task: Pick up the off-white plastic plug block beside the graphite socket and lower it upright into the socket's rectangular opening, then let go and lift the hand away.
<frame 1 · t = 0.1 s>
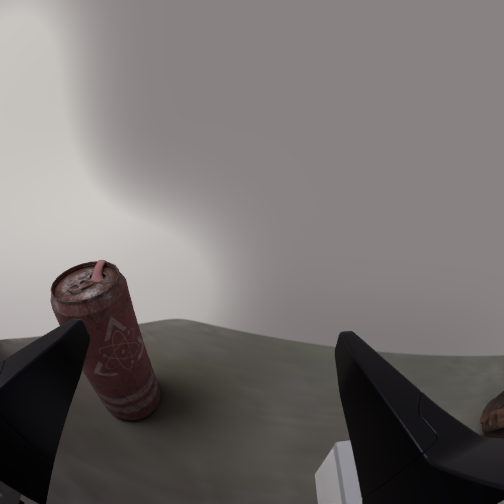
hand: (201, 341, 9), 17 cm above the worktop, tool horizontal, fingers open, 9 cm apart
plug: (345, 498, 14), on the worktop
can: (133, 398, 23), on the worktop
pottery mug: (500, 435, 14), on the worktop
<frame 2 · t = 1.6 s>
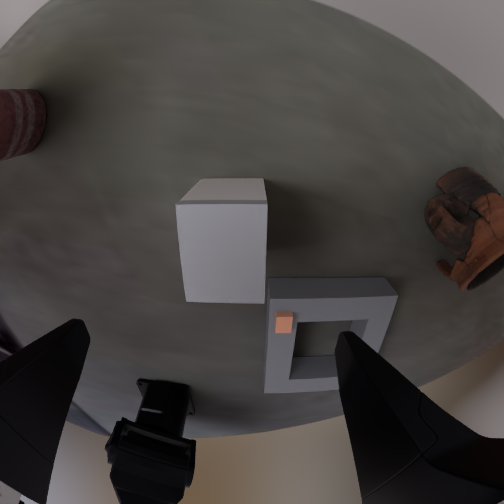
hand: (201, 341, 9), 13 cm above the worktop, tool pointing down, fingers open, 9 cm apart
socket block: (320, 330, 25), on the worktop
plug: (232, 215, 20), on the worktop
can: (28, 119, 16), on the worktop
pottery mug: (448, 216, 20), on the worktop
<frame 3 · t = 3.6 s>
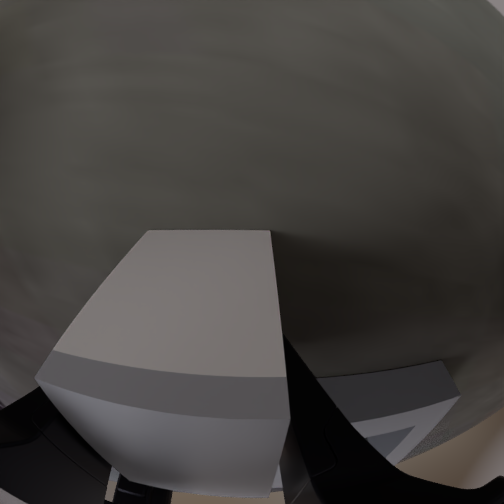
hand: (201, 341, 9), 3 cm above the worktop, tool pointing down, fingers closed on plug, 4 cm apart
socket block: (344, 423, 16), on the worktop
plug: (211, 296, 11), on the worktop, touching gripper
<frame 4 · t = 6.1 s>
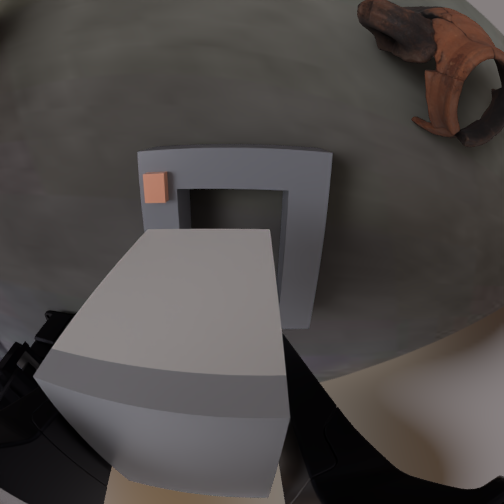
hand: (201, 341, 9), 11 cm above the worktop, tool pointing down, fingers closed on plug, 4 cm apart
socket block: (235, 231, 19), on the worktop
plug: (211, 295, 11), point 8 cm above the worktop, touching gripper
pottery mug: (413, 63, 13), on the worktop
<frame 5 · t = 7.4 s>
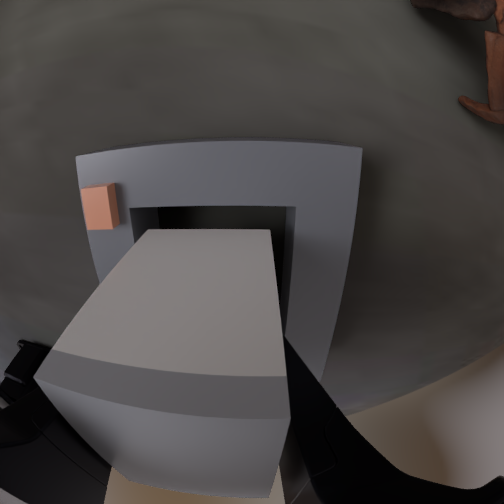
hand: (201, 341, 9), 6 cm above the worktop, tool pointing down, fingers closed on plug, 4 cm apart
socket block: (221, 259, 14), on the worktop
plug: (211, 296, 11), point 3 cm above the worktop, touching gripper
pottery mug: (452, 31, 8), on the worktop
when the fingers open (4 cm above the worktop, at t = 8.6 s): plug drops 2 cm, resting in socket block.
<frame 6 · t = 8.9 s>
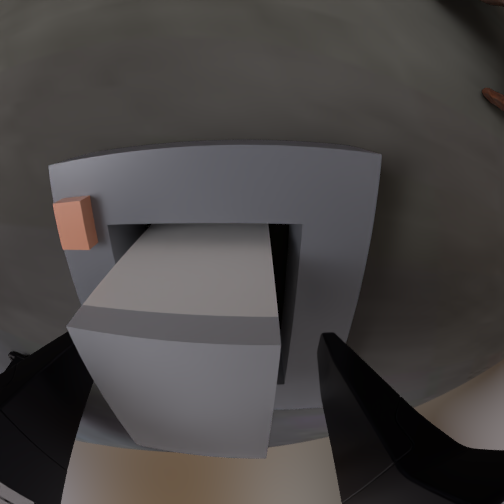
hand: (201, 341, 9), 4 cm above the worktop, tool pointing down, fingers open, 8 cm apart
socket block: (216, 277, 12), on the worktop
plug: (215, 276, 12), resting in socket block
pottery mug: (470, 20, 6), on the worktop
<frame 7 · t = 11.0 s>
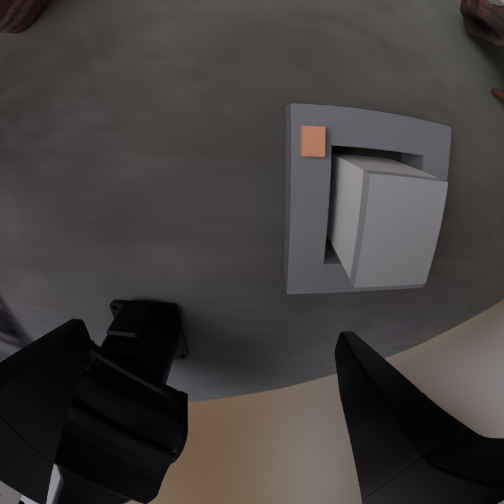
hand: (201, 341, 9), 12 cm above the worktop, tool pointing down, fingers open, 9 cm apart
socket block: (359, 195, 18), on the worktop
plug: (358, 195, 18), resting in socket block
can: (31, 5, 10), on the worktop
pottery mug: (485, 46, 11), on the worktop
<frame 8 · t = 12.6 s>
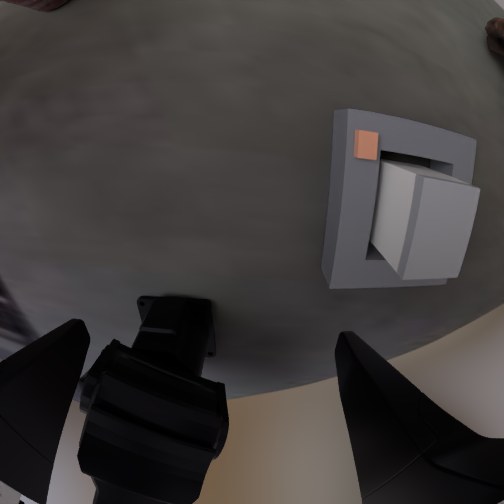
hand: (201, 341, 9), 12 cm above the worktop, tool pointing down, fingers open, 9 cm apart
socket block: (393, 198, 18), on the worktop
plug: (392, 197, 18), resting in socket block
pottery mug: (502, 62, 12), on the worktop
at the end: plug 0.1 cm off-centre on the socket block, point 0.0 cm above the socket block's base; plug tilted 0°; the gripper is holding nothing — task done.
